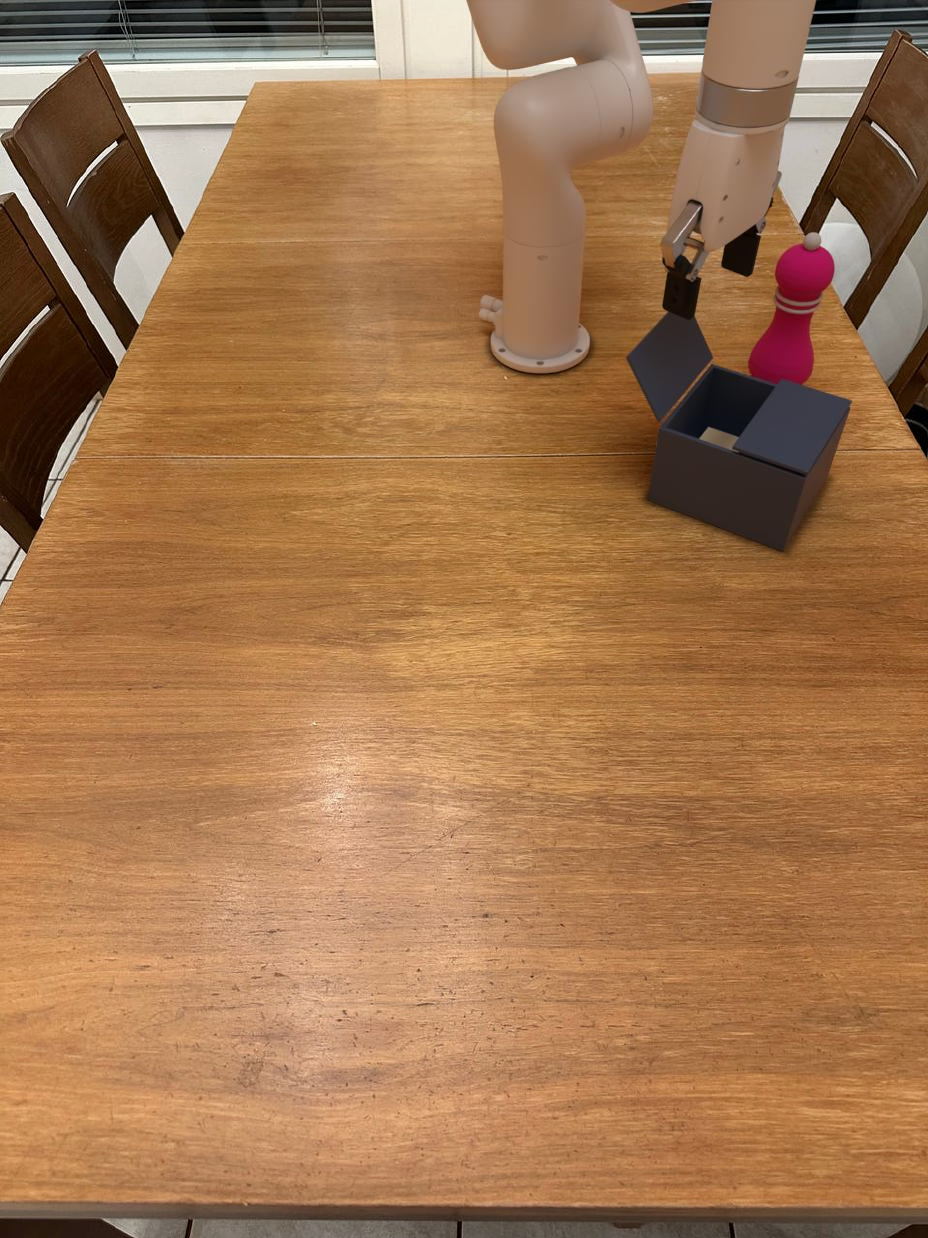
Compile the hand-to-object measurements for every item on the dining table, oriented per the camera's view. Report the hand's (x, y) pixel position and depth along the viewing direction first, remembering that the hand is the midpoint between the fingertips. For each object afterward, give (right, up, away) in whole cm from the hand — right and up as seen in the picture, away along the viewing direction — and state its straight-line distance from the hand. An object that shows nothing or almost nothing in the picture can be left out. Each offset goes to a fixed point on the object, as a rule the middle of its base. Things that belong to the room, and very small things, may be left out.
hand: (707, 291), depth 89 cm
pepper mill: (+14, -4, +24) cm, 28 cm away
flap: (-2, -4, +7) cm, 8 cm away
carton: (+7, -17, +13) cm, 22 cm away
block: (+4, -15, +14) cm, 21 cm away
